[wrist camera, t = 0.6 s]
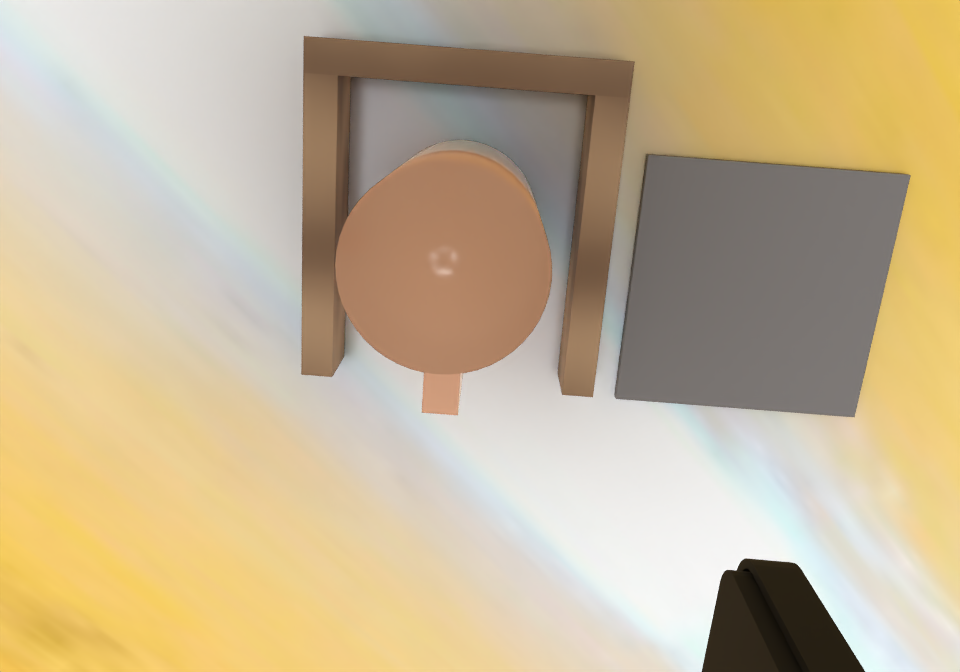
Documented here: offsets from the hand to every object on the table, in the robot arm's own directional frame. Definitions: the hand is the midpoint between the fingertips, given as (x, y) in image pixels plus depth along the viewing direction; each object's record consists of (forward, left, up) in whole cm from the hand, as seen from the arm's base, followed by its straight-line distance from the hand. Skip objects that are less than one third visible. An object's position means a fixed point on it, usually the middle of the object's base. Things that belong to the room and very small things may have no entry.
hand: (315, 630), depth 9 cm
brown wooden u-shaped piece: (-1, +1, -24) cm, 24 cm away
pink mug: (0, +1, -24) cm, 24 cm away
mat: (+1, +13, -24) cm, 27 cm away
